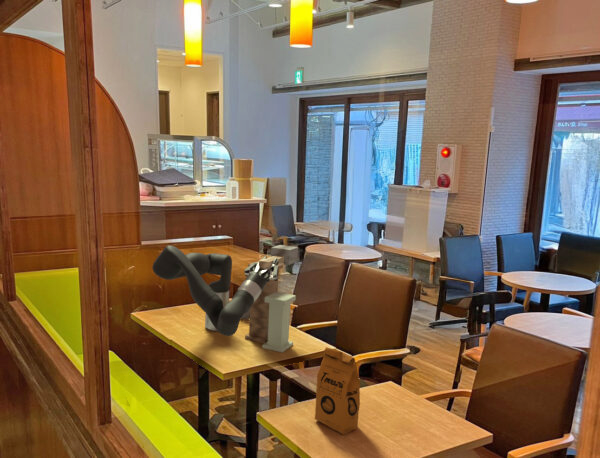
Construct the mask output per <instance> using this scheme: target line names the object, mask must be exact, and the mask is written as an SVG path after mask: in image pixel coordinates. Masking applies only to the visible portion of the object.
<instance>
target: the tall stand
mask: <svg viewBox="0 0 600 458" xmlns="http://www.w3.org/2000/svg"><path fill="white" fill-rule="evenodd" d="M255 262H256V263H258V262H259V260H258V261H257V260H256V261H255ZM253 263H254V262H251V263H248V265H247V267H249V266H250V265H251V264H253ZM253 268H254V267H253ZM282 268H284V265H281V266H278V270H279V271H280V269H282ZM273 273H274V272H273ZM279 276H280V274H278V280H277V281H274V279H272V280H270V281H268V282H267V283H266V286H265V288H264V289H263V291H262V292H261V294H260V295H259V297H258V298H257V300H256V301H255V302H254V303H253V304H252V306H251V308H250V319H249V327H248V328H249V329H248V333H247V334H246V335H244V339H245V340H249V341H252V342H257V343H262V344H265V343H266V342H268V325H269V305H270V303H266V302H265V297H266V296H269V295H271V294H273V293H275V292H278V291H279Z"/></svg>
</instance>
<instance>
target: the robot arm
mask: <svg viewBox="0 0 600 458" xmlns="http://www.w3.org/2000/svg"><path fill="white" fill-rule="evenodd" d="M266 258H268V257H267V256H264V257H262V258H261V259H260V260H263V259H266ZM256 262H257V261H255V262H252V263H253V264H251V263H250V264H251V265H250V266H249V267H248V266H247V267H246V268H245V269H244V270H243V271H244V276H245V279H244V280H243V281H242V283H241V284H240V285H239V287H238V288H239V289H238V288H237V291H236V293H235V294H234V295H233V297H232V298H231V300H230V289H231V288H230V287H231V282H232V281H231V280H232V269H233V259H232V257H231V255H229V254H224V253H223V254H222V253H215V252H214V253H213V252H212V253H208V254H204V253H202V252H201V253H200V252H190V253H186V254H185V253H184V252H183V251H182V250H181V249H179V248H178V247H176V246H174V245H166V246H165V247H164V248H163V250H162V251H161V252H160V253H159V255H158V256H157V257H156V259H154V262H153V263H152V267H151V268H152V270H153V273H154V274H155V275H156V276H157V277H159V278H160V279H164V280H166V281H167V280H169V281H172V280H176V279H179V278H184V277H186V280H187V283H188V287H189V288H188V289H189V292H190V295H191V298H192V299H193V301H194V302H195V304H197V306H198V307H199V308H201V310H202V312H204V313H205V320H204V321H205V322H204V328H205V329H207V330H209V331H213V332H218V333H219V334H220V335H222V336H225V337H231V336H233V335H235V333H236V332H237V331H238V329H239V324H240V321H241V317H242V316H243V314H245V313H246V312H247V311H248V310H249V309H250V308H251V306H252V304H253V303H254V302H255V301H256V300H257V298H258V297H259V295H260V294H261V292H262V291H263V289H264V288H265V286H266V283H267V282H268V281H270V280H272V279H274V281H277V280H278V281H279V278H278V274H279V273H280V269H279V270H278V266H277V265H278V264H279V262H278V258H275V259H274V261H273V262H272V264H271V265H270V266H269V267H266V268H265V269H261V268H260V266H259V262H258V263H256ZM253 267H254V268H253ZM273 272H274V273H273ZM205 274H209V275H215V276H220V277H219V279H217V280H214V281H211V282H210V283H207V282H206V281H205V280H204V278H203V277H202V276H203V275H205ZM279 275H280V274H279Z"/></svg>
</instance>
